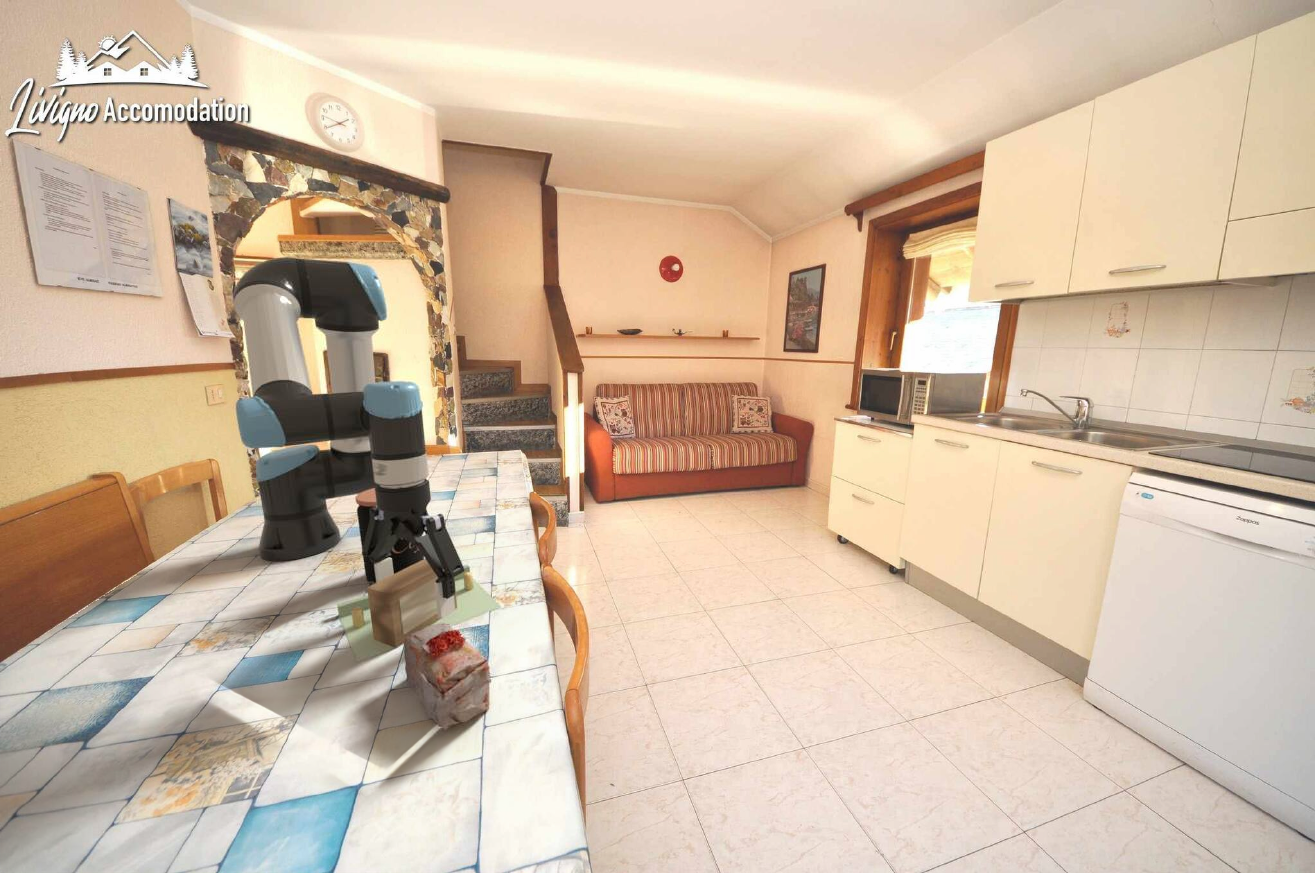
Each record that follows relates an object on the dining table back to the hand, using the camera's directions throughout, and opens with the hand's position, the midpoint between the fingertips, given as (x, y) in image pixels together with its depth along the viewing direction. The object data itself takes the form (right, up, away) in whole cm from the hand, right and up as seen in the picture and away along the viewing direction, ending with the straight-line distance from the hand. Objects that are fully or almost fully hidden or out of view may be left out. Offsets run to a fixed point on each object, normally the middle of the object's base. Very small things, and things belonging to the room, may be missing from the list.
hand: (416, 605), depth 78 cm
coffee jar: (-14, -1, +19) cm, 24 cm away
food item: (+11, -8, -14) cm, 20 cm away
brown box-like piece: (0, -3, +1) cm, 3 cm away
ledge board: (-1, -4, +5) cm, 6 cm away
